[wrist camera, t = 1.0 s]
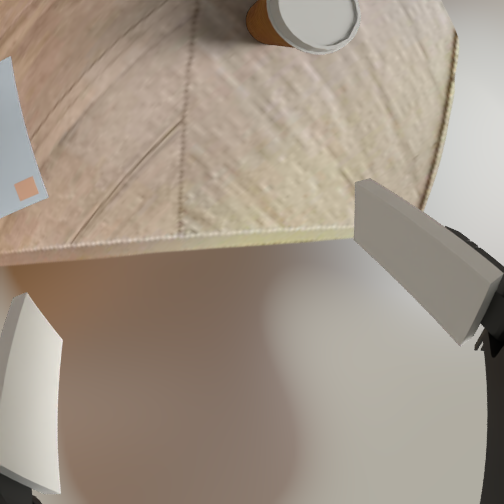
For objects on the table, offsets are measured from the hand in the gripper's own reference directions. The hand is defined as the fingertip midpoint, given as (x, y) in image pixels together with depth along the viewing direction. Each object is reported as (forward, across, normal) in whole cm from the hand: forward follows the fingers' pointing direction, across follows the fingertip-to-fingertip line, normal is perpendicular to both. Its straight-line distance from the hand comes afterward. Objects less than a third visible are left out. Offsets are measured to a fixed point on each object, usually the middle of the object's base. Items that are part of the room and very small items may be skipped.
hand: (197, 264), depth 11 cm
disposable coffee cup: (+28, +16, +10) cm, 34 cm away
